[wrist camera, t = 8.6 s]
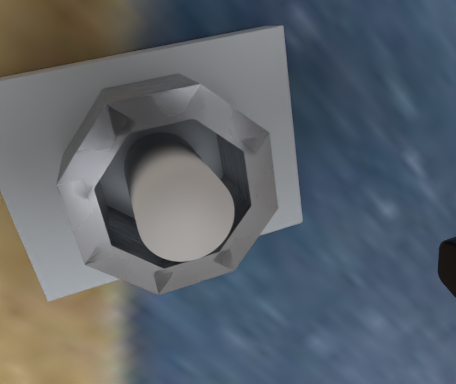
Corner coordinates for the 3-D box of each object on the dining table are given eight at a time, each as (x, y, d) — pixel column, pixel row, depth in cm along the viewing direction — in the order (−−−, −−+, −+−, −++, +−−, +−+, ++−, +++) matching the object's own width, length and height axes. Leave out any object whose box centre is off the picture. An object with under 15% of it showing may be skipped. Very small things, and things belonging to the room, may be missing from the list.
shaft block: (264, 26, 18) (355, 23, 12) (285, 206, 22) (363, 277, 16) (-29, 82, 15) (-109, 118, 9) (51, 276, 19) (33, 394, 13)
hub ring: (229, 63, 16) (262, 71, 13) (251, 218, 19) (283, 255, 16) (44, 100, 15) (32, 119, 12) (99, 262, 17) (101, 313, 14)
